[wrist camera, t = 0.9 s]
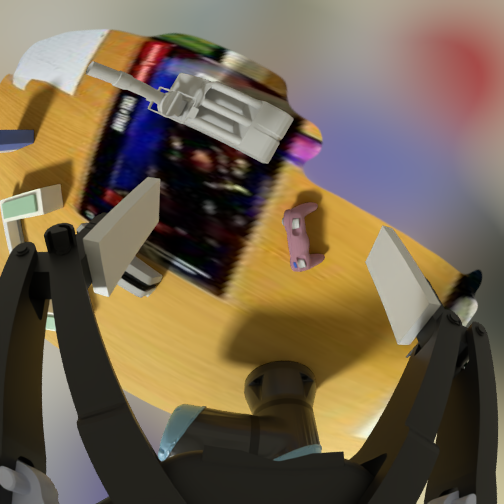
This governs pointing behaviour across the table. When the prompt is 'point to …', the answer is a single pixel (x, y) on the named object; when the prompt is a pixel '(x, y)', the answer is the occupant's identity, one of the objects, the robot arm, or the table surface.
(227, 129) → the fuel canister
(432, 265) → the table surface
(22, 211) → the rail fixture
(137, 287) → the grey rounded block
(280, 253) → the table surface
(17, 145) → the walkman
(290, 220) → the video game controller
